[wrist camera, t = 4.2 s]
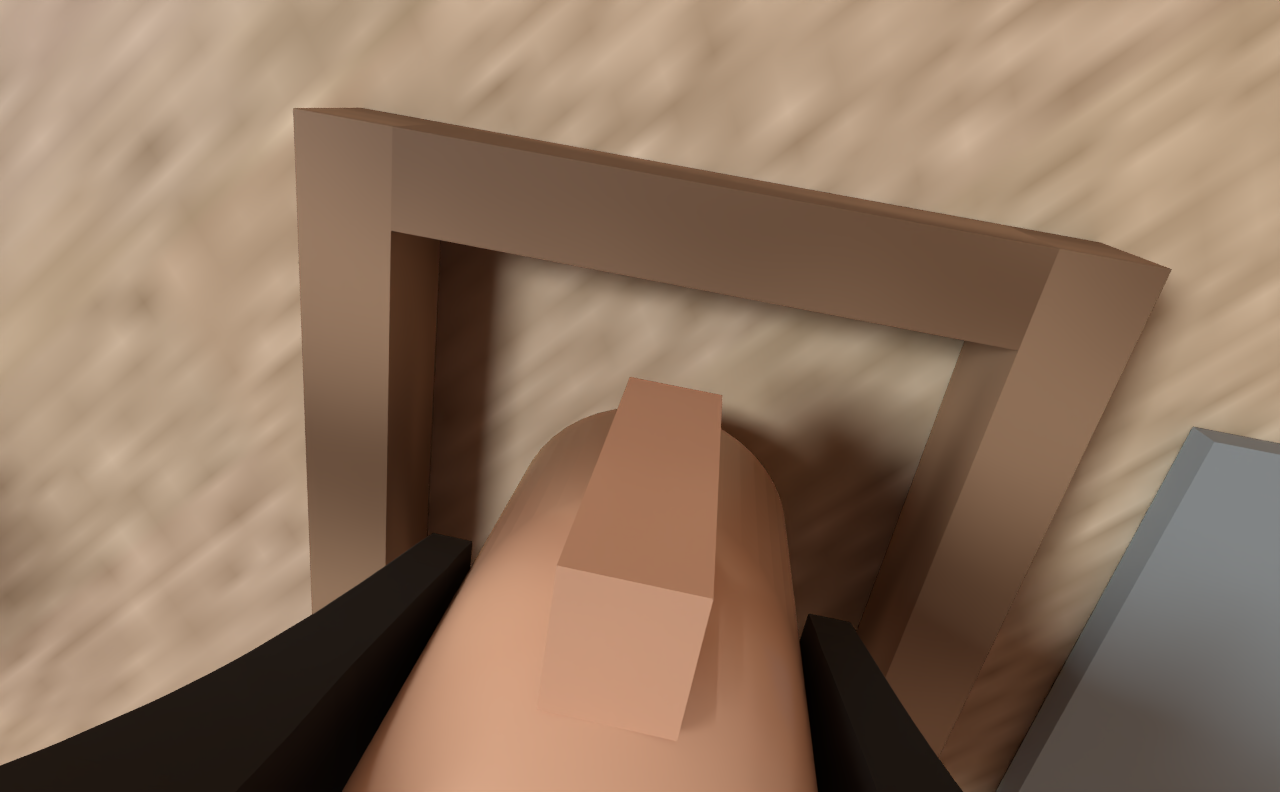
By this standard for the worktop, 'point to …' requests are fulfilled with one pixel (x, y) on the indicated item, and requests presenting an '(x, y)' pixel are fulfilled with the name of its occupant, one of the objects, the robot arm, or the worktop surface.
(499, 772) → the peach capsule with nub
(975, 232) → the frame
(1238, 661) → the mat
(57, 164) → the worktop surface
